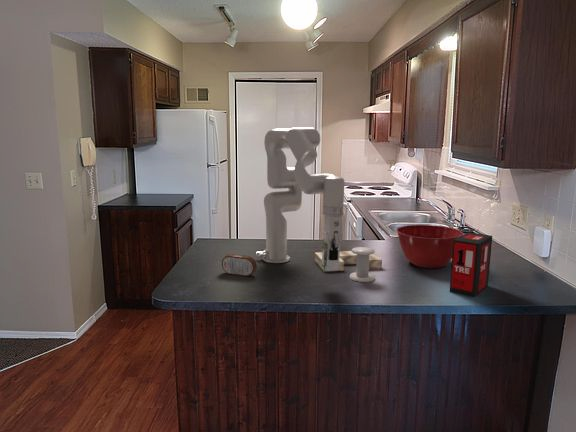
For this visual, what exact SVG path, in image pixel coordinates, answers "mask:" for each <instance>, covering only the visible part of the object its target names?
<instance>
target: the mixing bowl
mask: <svg viewBox="0 0 576 432" xmlns="http://www.w3.org/2000/svg"><path fill="white" fill-rule="evenodd" d="M396 232H397V236H398V240H399V243H400V244H399V245H400V246H401V249H402V252H403V254H404V257H405V258H406V259H407V261H409V262H410V263H411V264H412V265H414V266H416V267H420V268H426V269H437V268H442V267H443V266H445V265H447V264H448V263H449V262H450V261H452V253H453V240H455V239H457V238H459V237H460V236H462V235H464V232H463V231H461V230H459V229H457V228H453V227H450V226H449V227H448V226H442V225H433V224H430V225H429V224H411V225H403V226H399V227H398V228H397V229H396Z"/></svg>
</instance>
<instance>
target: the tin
mask: <svg viewBox="0 0 576 432" xmlns="http://www.w3.org/2000/svg"><path fill="white" fill-rule="evenodd" d="M221 260H222V261H221V267H222V270H223V271H224V273H226V274H229V275H231V276H233V275H234V276H240V277H241V276H242V277H250V276H252V275H253V274H255V272H256V271H257V267H258V266H257V262H256V260H255V258H253V257H252V256H250V255H245V254H244V255H243V254H236V253H229V254H228V253H227V255H225V256H224V257H223V258H222V259H221Z"/></svg>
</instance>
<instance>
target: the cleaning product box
mask: <svg viewBox="0 0 576 432" xmlns="http://www.w3.org/2000/svg"><path fill="white" fill-rule="evenodd" d="M492 245H493V235H490V234H489V235H488V234H482V233H475V232H467V233H465V234H464V233H463V235H462V236H460V237H459V238H457V239H455V240H453V253H452V259H451V267H450V269H451V271H450V282H449V293H452V294H457V295H460V296H461V295H462V296H465V297H471V298H475V297H476V296H478V295H479V294H480V293H481V292H482V291H484V290H485V289H486V288H487V287H488V286H489V279H490V278H489V276H490V267H491V266H490V265H491V255H492V247H493V246H492Z"/></svg>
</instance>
